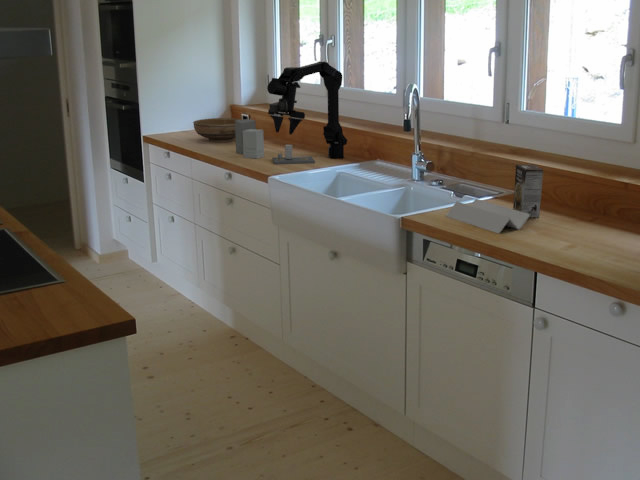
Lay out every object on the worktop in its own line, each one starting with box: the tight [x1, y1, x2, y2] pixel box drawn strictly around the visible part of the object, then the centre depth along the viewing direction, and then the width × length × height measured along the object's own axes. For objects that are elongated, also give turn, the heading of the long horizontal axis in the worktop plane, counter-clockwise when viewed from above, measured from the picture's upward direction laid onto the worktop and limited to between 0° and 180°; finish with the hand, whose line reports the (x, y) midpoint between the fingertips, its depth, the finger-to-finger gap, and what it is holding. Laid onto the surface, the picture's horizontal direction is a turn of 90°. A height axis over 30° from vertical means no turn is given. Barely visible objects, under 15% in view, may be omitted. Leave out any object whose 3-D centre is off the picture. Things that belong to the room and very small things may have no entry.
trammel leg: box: [284, 144, 293, 159], centre depth 355 cm, size 3×3×6 cm
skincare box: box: [235, 118, 257, 155], centre depth 376 cm, size 8×7×16 cm
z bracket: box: [445, 198, 530, 234], centre depth 252 cm, size 12×25×6 cm
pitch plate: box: [271, 153, 316, 165], centre depth 356 cm, size 18×12×4 cm, turn 98°
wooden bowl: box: [192, 117, 245, 143], centre depth 414 cm, size 37×29×10 cm
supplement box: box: [243, 128, 265, 159], centre depth 365 cm, size 7×7×13 cm
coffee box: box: [512, 163, 544, 218], centre depth 259 cm, size 9×6×16 cm
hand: (283, 133), depth 340 cm, fingers open, 9 cm apart
